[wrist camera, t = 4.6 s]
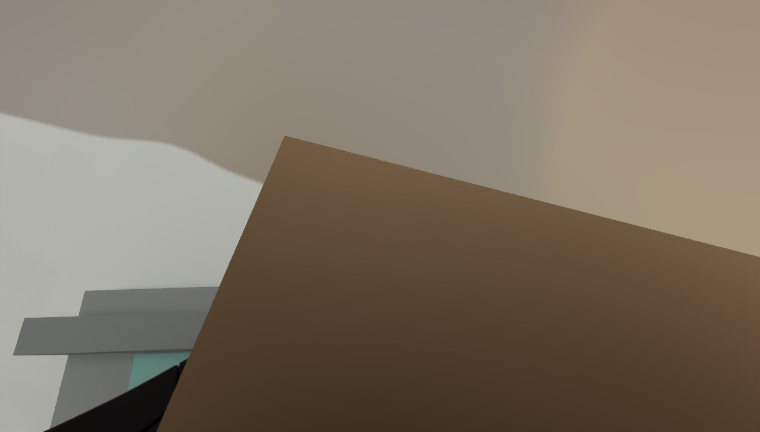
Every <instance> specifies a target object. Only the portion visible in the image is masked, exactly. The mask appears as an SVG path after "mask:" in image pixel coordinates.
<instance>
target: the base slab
mask: <svg viewBox="0 0 760 432" xmlns="http://www.w3.org/2000/svg"><path fill="white" fill-rule="evenodd" d="M218 289H219V287H198V288H164V289H131V290H97V291H85V293H84V297H83V301H82V305H81V309H80V312H79V316H75V317H45V318H24V322H23V325H22V328H21V331H20V335H19V338H18V341H17V344H16V348H15V351H14V354H13V355H69V356H68V360H67V364H66V367H65V371H64V375H63V379H62V383H61V387H60V391H59V395H58V399H57V403H56V407H55V411H54V415H53V419H52V422H51V426H50V428H52V427H54V426H57V425H59V424H61V423H63V422H65V421H67V420H69V419H71V418H74V417H76V416H78V415H80V414H82V413H84V412H86V411H88V410H90V409H92V408H94V407H96V406H99V405H101V404H103V403H105V402H107V401H109V400H111V399H113V398H115V397H117V396H119V395H121V394H123V393H125V392H127V391H129V390H131V389H132V388H134V387H136V386H138V385H140V384H142V383H143V382H145V381H147V380H149V379H151V378H153V377H155V376H156V375H158V374H160V373H162V372H163V371H165V370H167V369H169V368H171V367H172V366H174V365H178V366H179V363H180V362H181V361H183V360H185V359H187V358H188V357H189V356H190V353H191V351H192V349H193V346H194V344H195V342H196V339H197V337H198V335H199V332H200V330H201V328H202V326H203V323H204V321H205V319H206V316H207V314H208V312H209V309H210V307H211V305H212V302H213V300H214V298H215V296H216V293H217V291H218Z"/></svg>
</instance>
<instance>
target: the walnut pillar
mask: <svg viewBox="0 0 760 432" xmlns="http://www.w3.org/2000/svg"><path fill="white" fill-rule="evenodd" d="M157 432H760V257H757V256H753V255H749V254H745V253H741V252H737V251H734V250H729V249H726V248H722V247H718V246H714V245H710V244H706V243H702V242H698V241H694V240H691V239H686V238H683V237H678V236H675V235H671V234H667V233H663V232H659V231H655V230H651V229H647V228H643V227H640V226H636V225H632V224H628V223H624V222H620V221H616V220H612V219H608V218H604V217H600V216H596V215H592V214H589V213H585V212H581V211H576V210H573V209H569V208H565V207H561V206H557V205H553V204H550V203H545V202H542V201H538V200H534V199H530V198H526V197H522V196H518V195H514V194H510V193H506V192H502V191H499V190H495V189H491V188H487V187H483V186H479V185H475V184H471V183H467V182H464V181H460V180H455V179H452V178H448V177H444V176H440V175H436V174H432V173H428V172H424V171H420V170H417V169H413V168H409V167H405V166H401V165H397V164H393V163H389V162H385V161H381V160H377V159H373V158H370V157H366V156H362V155H358V154H354V153H350V152H346V151H342V150H338V149H334V148H330V147H326V146H323V145H319V144H315V143H311V142H307V141H303V140H299V139H295V138H291V137H287V136H285V137H284V139H283V141H282V143H281V146H280V148H279V150H278V153H277V155H276V157H275V160H274V162H273V164H272V167H271V169H270V171H269V173H268V176H267V178H266V181H265V183H264V185H263V187H262V189H261V192H260V194H259V196H258V199H257V201H256V203H255V206H254V208H253V210H252V213H251V215H250V217H249V219H248V222H247V224H246V226H245V229H244V231H243V233H242V236H241V238H240V240H239V243H238V245H237V247H236V249H235V252H234V254H233V256H232V259H231V261H230V263H229V266H228V268H227V270H226V273H225V275H224V277H223V279H222V282H221V284H220V286H219V289H218V291H217V293H216V296H215V298H214V300H213V302H212V305H211V307H210V309H209V312H208V314H207V316H206V319H205V321H204V323H203V326H202V328H201V330H200V332H199V335H198V337H197V339H196V342H195V344H194V346H193V349H192V351H191V353H190V356H189V358H188V360H187V362H186V365H185V367H184V369H183V372H182V374H181V376H180V379H179V381H178V383H177V385H176V388H175V390H174V392H173V395H172V397H171V399H170V402H169V404H168V406H167V409H166V411H165V413H164V415H163V418H162V420H161V422H160V425H159V427H158V429H157Z"/></svg>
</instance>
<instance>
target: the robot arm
mask: <svg viewBox="0 0 760 432" xmlns="http://www.w3.org/2000/svg"><path fill="white" fill-rule="evenodd" d="M188 358H189V357H188ZM188 358H187V359H185V360H183V361H181V362H180V363H179V366H178V365H174V366H172V367H171V368H169V369H167V370H165V371H163V372H162V373H160V374H158V375H156V376H155V377H153V378H151V379H149V380H147V381H145V382H143V383H142V384H140V385H138V386H136V387H134V388H132V389H131V390H129V391H127V392H125V393H123V394H121V395H119V396H117V397H115V398H113V399H111V400H109V401H107V402H105V403H103V404H101V405H99V406H96V407H94V408H92V409H90V410H88V411H86V412H84V413H82V414H80V415H78V416H76V417H74V418H71V419H69V420H67V421H65V422H63V423H61V424H59V425H57V426H54V427H52V428H50V429H48V430H46V431H44V432H157V429H158V427H159V425H160V422H161V420H162V418H163V415H164V413H165V411H166V409H167V406H168V404H169V402H170V399H171V397H172V395H173V392H174V390H175V388H176V385H177V383H178V381H179V379H180V376H181V374H182V372H183V369H184V367H185V365H186V362H187V360H188Z"/></svg>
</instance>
